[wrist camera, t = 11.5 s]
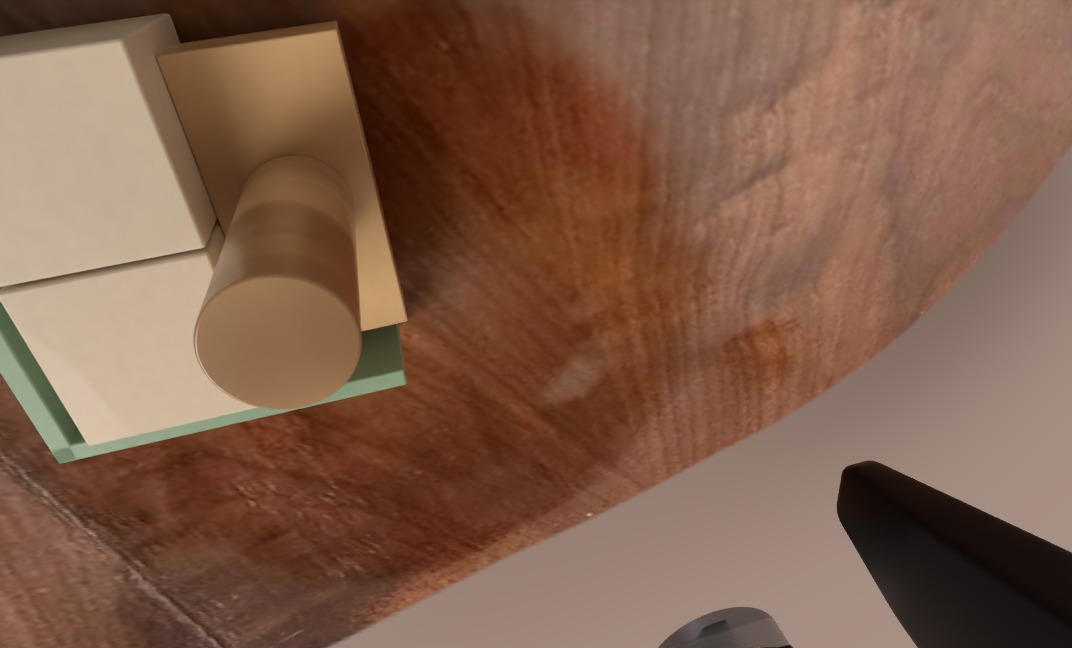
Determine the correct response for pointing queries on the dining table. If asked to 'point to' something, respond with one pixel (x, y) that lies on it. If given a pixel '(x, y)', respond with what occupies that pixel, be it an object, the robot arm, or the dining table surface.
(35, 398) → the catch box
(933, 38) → the dining table surface
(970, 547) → the robot arm
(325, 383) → the stamp
